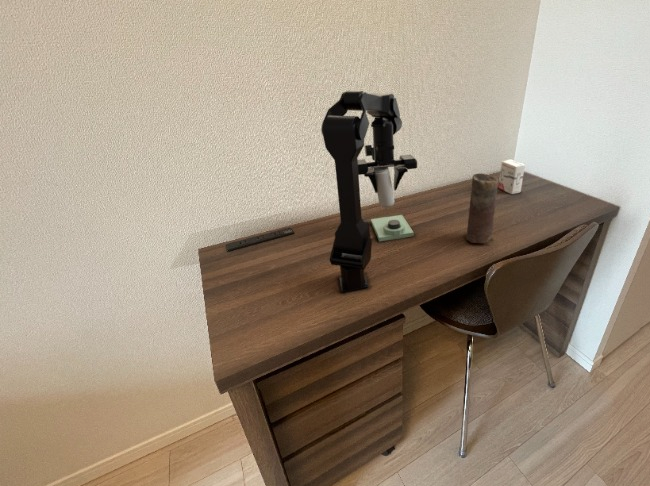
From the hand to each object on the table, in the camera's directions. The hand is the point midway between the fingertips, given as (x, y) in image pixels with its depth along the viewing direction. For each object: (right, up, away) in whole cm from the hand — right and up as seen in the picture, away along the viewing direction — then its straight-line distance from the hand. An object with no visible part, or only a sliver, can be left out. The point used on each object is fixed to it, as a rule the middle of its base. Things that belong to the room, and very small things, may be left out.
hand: (385, 191), depth 98 cm
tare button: (+3, -11, +2) cm, 12 cm away
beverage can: (0, -4, +2) cm, 5 cm away
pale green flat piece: (+2, -12, +6) cm, 13 cm away
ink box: (+50, +3, +35) cm, 61 cm away
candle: (+29, -15, 0) cm, 32 cm away
